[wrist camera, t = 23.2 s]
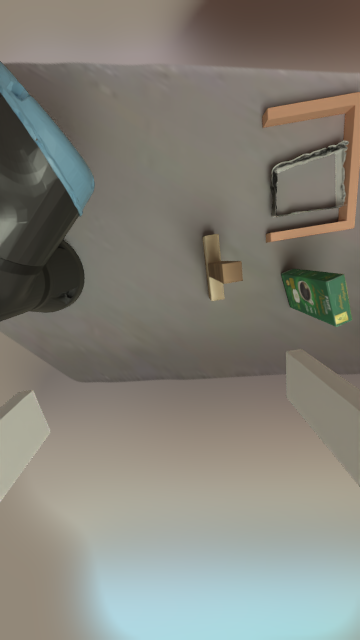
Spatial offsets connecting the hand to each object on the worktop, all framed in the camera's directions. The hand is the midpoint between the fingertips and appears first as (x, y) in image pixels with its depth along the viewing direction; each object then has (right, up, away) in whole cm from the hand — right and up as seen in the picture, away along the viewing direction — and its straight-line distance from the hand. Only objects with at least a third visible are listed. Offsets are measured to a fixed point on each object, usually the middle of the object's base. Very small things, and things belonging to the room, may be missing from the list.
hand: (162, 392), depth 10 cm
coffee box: (+24, +10, +32) cm, 41 cm away
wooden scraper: (+7, +14, +30) cm, 34 cm away
